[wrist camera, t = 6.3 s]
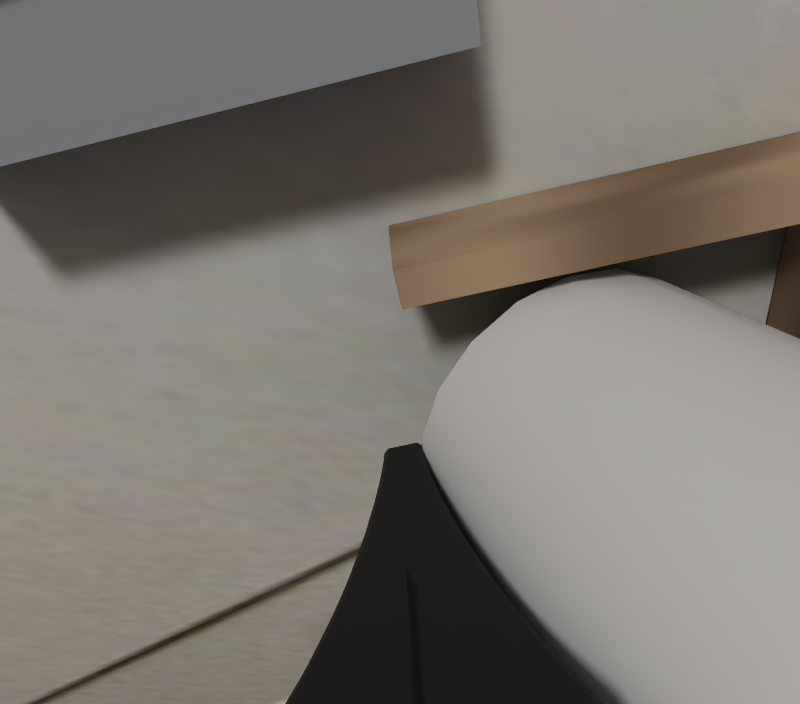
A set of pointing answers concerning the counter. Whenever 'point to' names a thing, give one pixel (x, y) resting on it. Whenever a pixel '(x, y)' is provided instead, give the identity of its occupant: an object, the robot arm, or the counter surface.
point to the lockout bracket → (611, 226)
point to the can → (635, 486)
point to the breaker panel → (194, 58)
